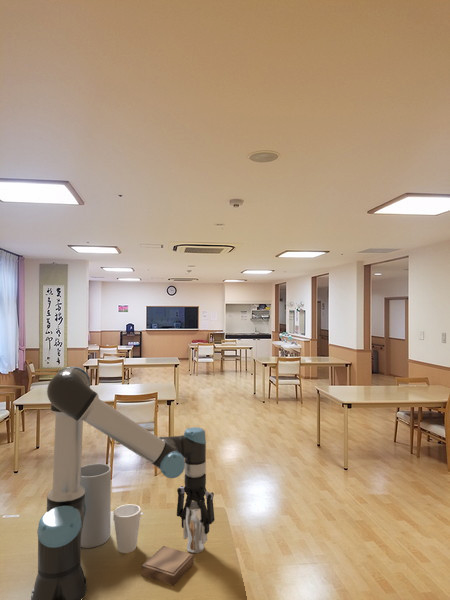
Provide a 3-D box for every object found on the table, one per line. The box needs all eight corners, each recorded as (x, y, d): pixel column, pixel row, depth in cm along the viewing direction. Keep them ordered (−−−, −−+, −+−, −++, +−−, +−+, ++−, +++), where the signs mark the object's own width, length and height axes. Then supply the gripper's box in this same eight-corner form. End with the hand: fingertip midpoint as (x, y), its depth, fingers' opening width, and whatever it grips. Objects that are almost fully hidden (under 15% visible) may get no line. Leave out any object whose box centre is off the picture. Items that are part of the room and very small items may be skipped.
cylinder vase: (69, 538, 150) (69, 469, 151) (101, 526, 159) (101, 461, 159) (82, 553, 141) (83, 480, 142) (116, 539, 149) (116, 470, 150)
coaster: (141, 575, 129) (141, 564, 129) (163, 554, 140) (163, 545, 140) (173, 586, 124) (173, 575, 124) (193, 564, 135) (193, 554, 135)
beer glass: (207, 544, 146) (207, 501, 146) (201, 555, 139) (201, 510, 140) (189, 541, 148) (189, 499, 148) (182, 552, 141) (182, 508, 141)
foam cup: (133, 557, 138) (133, 518, 139) (108, 554, 140) (108, 515, 141) (144, 541, 148) (144, 505, 148) (120, 539, 150) (121, 503, 150)
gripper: (224, 474, 143) (225, 540, 143) (177, 465, 152) (177, 528, 151) (215, 482, 137) (215, 552, 136) (165, 472, 145) (165, 538, 144)
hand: (195, 539), depth 144 cm, fingers closed on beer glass, 7 cm apart
